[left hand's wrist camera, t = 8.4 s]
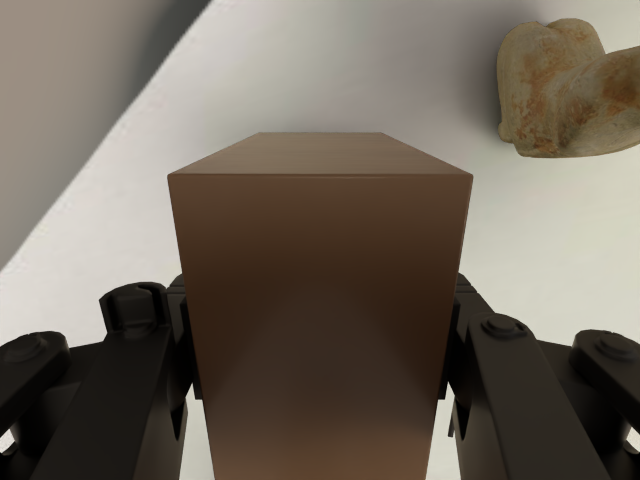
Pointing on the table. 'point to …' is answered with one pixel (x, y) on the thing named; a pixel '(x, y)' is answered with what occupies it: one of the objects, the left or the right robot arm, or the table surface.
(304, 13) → the table surface
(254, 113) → the table surface
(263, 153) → the bar
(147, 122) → the table surface
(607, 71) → the sculpture
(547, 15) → the table surface
